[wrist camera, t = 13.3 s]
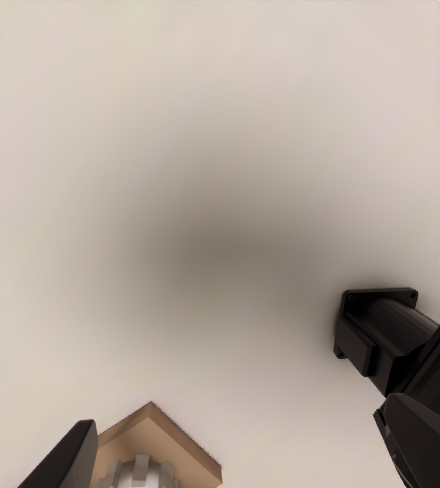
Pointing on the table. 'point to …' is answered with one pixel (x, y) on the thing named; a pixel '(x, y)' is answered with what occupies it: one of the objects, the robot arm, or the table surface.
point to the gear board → (151, 455)
